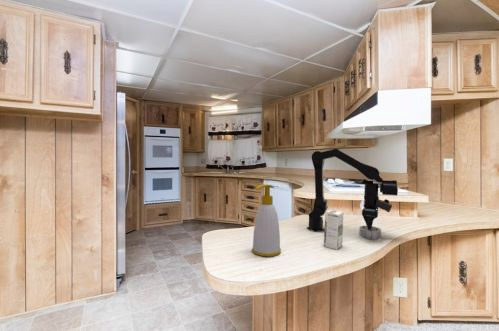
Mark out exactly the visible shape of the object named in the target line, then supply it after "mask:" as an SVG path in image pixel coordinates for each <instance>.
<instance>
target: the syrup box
mask: <svg viewBox="0 0 499 331" xmlns="http://www.w3.org/2000/svg"><path fill="white" fill-rule="evenodd" d="M323 229H324V230H323V232H324V234H323V247H326V248H329V249H333V250H339V249H340V248H341V247H342V246H343V232H344V212H343V211H340V210H335V209H331V210H330V209H329V210H327V211H326V212H325V214H324V228H323Z"/></svg>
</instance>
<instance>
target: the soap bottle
mask: <svg viewBox="0 0 499 331" xmlns="http://www.w3.org/2000/svg"><path fill="white" fill-rule="evenodd" d="M262 188H264V195H261V204H260V205H259V206H258V208H257V209H258V210H257V212H256V215H255V221H254V229H253V235H252V236H253V237H252V238H253V241H252V249H251V250H252V252H253V253H254V254H255V255H256V256H260V257H266V256H267V257H275V256H277V255H279V254H281V251H282V250H281V237H280V233H281V232H280V225H279V217H278V212H277V209H276V206H275V205H274V203H273V202H274V201H273V200H274V199H273V197H274V196H272V195H271V194H270V192H271V189H270V188H272V189H275V186H274V185H271V184H264V183H263V184H259V185H258V186H256V187H255V191H256V190H257V191H259V190H261V189H262Z"/></svg>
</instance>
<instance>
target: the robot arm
mask: <svg viewBox="0 0 499 331" xmlns="http://www.w3.org/2000/svg"><path fill="white" fill-rule="evenodd" d="M331 158H337V159H338V160H339V161H342V162H344V163H346V165H347V164H348V165H349V166H351V167H353V168H354V169H355V170H357V171H358V172H359V173H361V174H362V175H363V176H365V177H366V178H367V180H366V178H363V179H362V180H361V181H360V184H361V185H364V192H363V193H364V194H363V195H364V196H363V208H362V210H361V215H362V218H363V220H364V222H365V226H367V228H368V230H371V228H372V226H373V225H374V224H373V223H374V220H375V219H377V218H378V216H379V209H380V210H383V211H385V212H386V213H390V212H391V210H392V208H393V204H392V203H390V200H389V199H386V198H385V199H384V200H382V199H380V196H379V193H382V195H383V196H395V197H396V196H398V191H399V189H398V181H397V180H396V179H391V180H388V179H386V180H384V179H383V177H381V176H380V171H379V169H378V168H377V167H374V166H373V165H369V164H366V163H363V162H361V161H359V160H357V159H356V158H354V157H352V156H350V155H349V154H347V153H345V152H343V151H341V150H340V149H338V148H333V149H329V150H324V151H318V150H316V151H314V152H313V153H311V162H312V165H313V166H312V167H313V169H314V186H315V187H314V189H315V190H314V192H315V198H314V202H313V209H312V210H311V211H310V212H309V213H308V226H307V227H306V229H307V230H310V231H312V232H320V231H324V229H325V228H324V220H323V216H325V212H327V211H328V209H329V208H328V207H329V206H328V201H329V200H328V199H326V198H325V196H324V194H325V193H324V167H325V166H324V165H325V160H326V159H331ZM374 181H376V182H374Z"/></svg>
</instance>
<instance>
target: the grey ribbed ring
mask: <svg viewBox="0 0 499 331" xmlns="http://www.w3.org/2000/svg"><path fill="white" fill-rule="evenodd" d="M364 227H367V225H360V226H359V230H358V231H359V237H361V238H363V239H365V240H366V239H367V240H374V241H375V240H376V241H377V240H381V238H382V228H379V227H378V226H373V225H372V227H374V228H376V231H373V230H366V229H364Z"/></svg>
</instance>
